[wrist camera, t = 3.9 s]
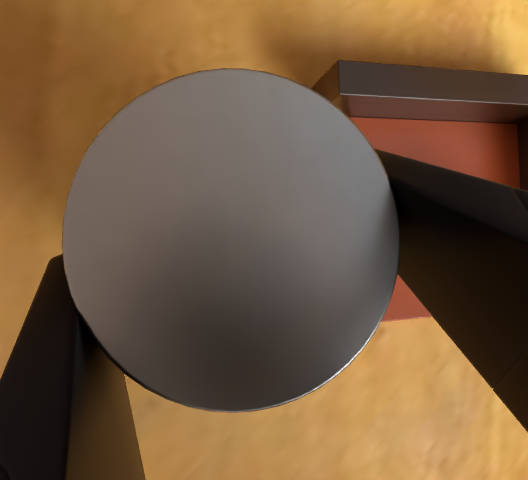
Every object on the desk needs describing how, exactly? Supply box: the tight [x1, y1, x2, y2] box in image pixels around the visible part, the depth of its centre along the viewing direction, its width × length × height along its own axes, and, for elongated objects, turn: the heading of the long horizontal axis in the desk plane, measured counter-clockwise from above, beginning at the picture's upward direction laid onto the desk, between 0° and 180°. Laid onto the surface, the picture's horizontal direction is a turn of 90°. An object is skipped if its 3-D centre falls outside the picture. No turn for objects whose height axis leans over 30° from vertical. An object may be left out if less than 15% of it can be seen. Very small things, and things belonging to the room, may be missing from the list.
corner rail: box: [311, 60, 528, 322], centre depth 16 cm, size 14×11×2 cm
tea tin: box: [62, 68, 401, 413], centre depth 11 cm, size 6×6×8 cm
